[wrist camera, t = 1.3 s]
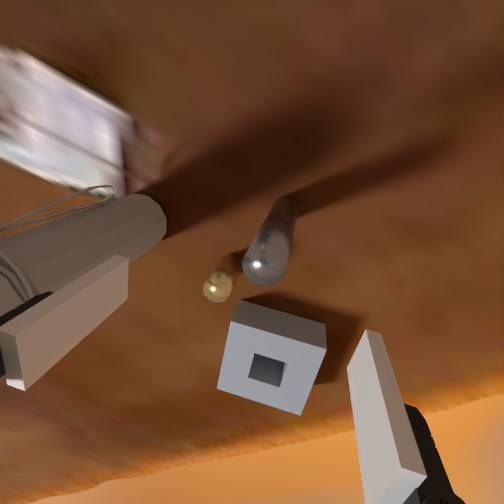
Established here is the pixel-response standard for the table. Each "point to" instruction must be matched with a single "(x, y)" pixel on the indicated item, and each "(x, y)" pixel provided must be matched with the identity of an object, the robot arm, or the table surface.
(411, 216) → the table surface
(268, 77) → the table surface
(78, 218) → the water bottle
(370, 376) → the robot arm
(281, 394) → the socket block
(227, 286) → the short pin
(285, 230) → the long pin
